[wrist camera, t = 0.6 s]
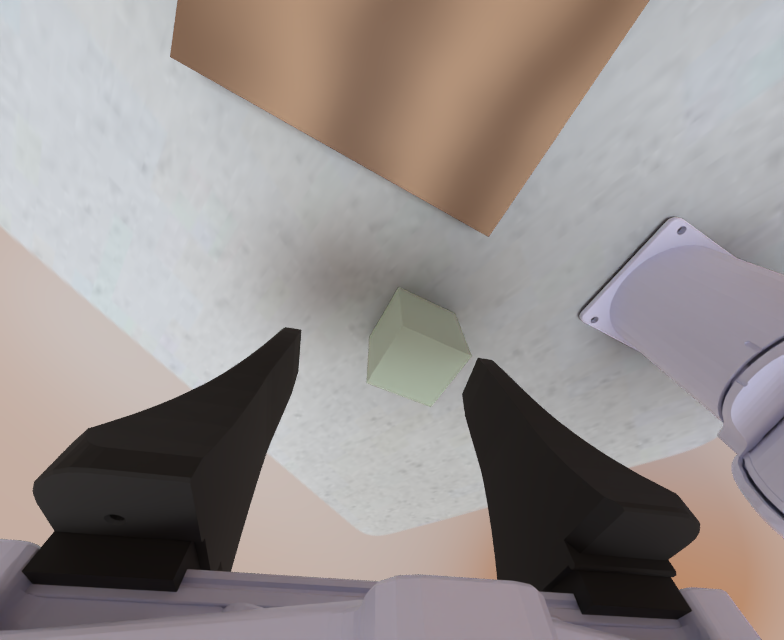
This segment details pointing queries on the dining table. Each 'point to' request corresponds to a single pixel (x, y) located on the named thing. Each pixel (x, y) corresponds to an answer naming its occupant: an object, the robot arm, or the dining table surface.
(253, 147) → the dining table surface
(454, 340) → the sage block
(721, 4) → the dining table surface
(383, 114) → the walnut base
